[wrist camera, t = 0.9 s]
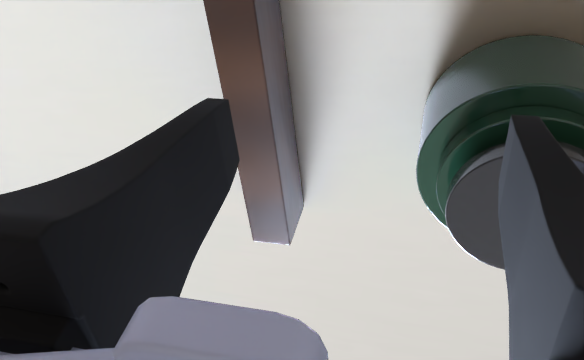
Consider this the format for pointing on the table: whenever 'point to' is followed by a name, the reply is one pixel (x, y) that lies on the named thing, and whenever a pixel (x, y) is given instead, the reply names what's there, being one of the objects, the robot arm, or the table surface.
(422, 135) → the green round jar
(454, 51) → the table surface
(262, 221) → the stick
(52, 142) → the table surface
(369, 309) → the table surface
